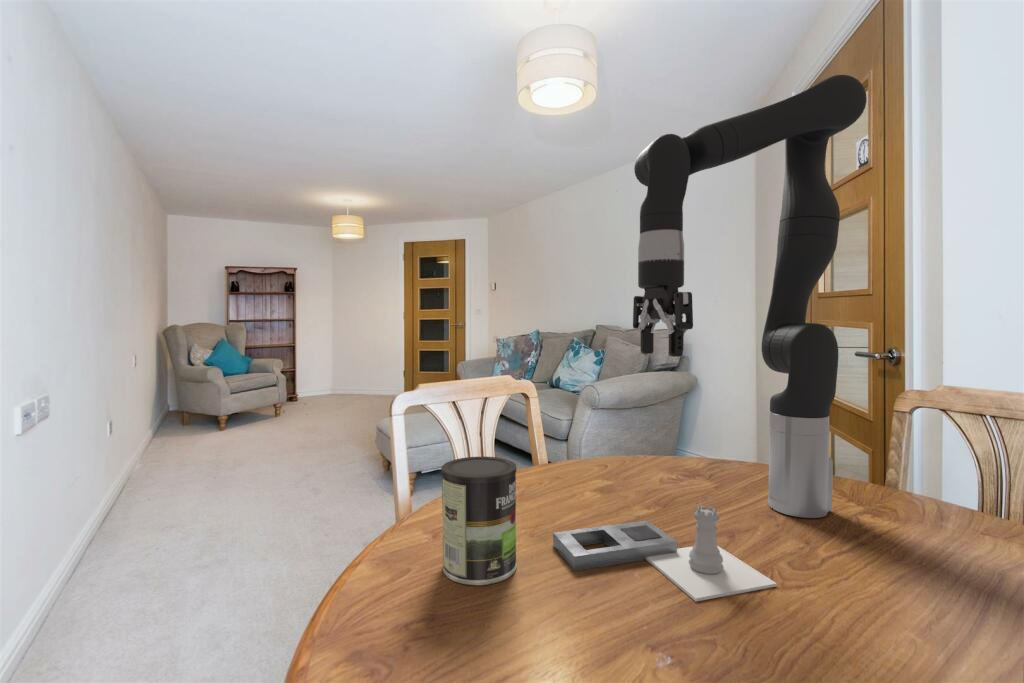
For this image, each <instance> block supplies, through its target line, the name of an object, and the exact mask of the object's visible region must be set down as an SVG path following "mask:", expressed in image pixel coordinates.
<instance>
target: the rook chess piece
mask: <svg viewBox="0 0 1024 683" xmlns="http://www.w3.org/2000/svg"><path fill="white" fill-rule="evenodd" d="M693 517H694V518H695V520H696V524H695V526H694V527H695V528H696V535H695V536H696V537H695V542H694V545H693V549H692V550H691V551H690V554H689V557H690V558H691V559H689V564H690V566H691V567H692V568H693V569H694V570H695V571H697V572H699V573H702V574H708V575H715V574H719V573H720V572H721V571H722V570H723V569H724V567H723V565H722V562H723V557H722V555H721V554H720V551H719V549H718V547H717V546H718V543H717V535H716V533H717V531H718V527H717V526H716V525H717V523H718V521H720V516H719V515H718V513H717V508H713V507H712V506H708V508H707V509H706V505H701V506H697V507H696V511H695V512H694V513H693Z"/></svg>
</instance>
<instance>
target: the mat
mask: <svg viewBox="0 0 1024 683" xmlns="http://www.w3.org/2000/svg"><path fill="white" fill-rule="evenodd" d="M693 546H694V545H693ZM693 546H686V547H681V548H680V547H679V548H678V547H677V552H676V553H670V554H663V555H657V556H650V557H646V560H645V561H647V562H648V563H649V564H651V566H653V567H654V568H655V569H656V570H658V571H659V572H660V573H661V574H662V575H664V576H665V577H666V578H667V579H668V580H669V581H670V582H671V583H673V584H674V585H675V586H677V588H679V589H680V590H681V591H683V593H684V594H686V595H687V596H688V597H689V598H691V599H692V600H693V601H694V602H696V603H697V602H701V601H706V600H711V599H716V598H721V597H722V598H723V597H728V596H733V595H739V594H744V593H748V592H755V591H759V590H765V589H771V588H775V587H777V585H778V584H777V583H776V582H775V581H774V580H772V579H771V578H769V577H767V576H766V575H764V574H763V573H761V572H760V571H758V570H757V569H755V568H753V567H751V566H750V565H748V564H747V563H746V562H744V561H743V560H740V559H739V558H737V557H736V556H734V555H733V554H731V553H730V552H728V551H726V550H725V549H724V548H721V547H720V546H719V545H717V547H718V549H719V551H720V554H721V555H722V557H723V562H722V565H723V567H724V569H723V570H722V571H721V572H720V573H719V574H715V575H708V574H702V573H699V572H697V571H695V570H694V569H693V568H692V567H691V566H690V564H689V559H691V558H690V557H689V554H690V551H691V550H692V549H693Z"/></svg>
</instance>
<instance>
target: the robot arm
mask: <svg viewBox="0 0 1024 683" xmlns="http://www.w3.org/2000/svg"><path fill="white" fill-rule="evenodd" d="M866 105H867V93H866V89H865V87H864V85H863V84H862V83H861V81H860V80H859V79H858V78H856V77H854V76H852V75H848V74H835V75H831V76H829V77H827V78H824V79H822V80H821V81H819V82H817V83H816V84H814V85H813V86H811V87H809V88H807V89H805V90H803V91H801V92H799V93H797V94H794V95H792V96H790V97H787V98H785V99H783V100H779V101H777V102H775V103H772V104H769V105H767V106H766V105H765V106H764V107H761V108H757V109H755V110H751V111H748V112H746V113H742V114H738V115H736V116H733V117H728V118H726V119H723V120H719V121H717V122H713V123H710V124H706V125H703V126H702V127H699V128H696V129H695V130H693V131H692V132H690V133H689V134H687V135H685V136H683V137H681V136H680V135H678V134H675V133H665V134H663V135H660V136H658V137H657V138H656V139H655V140H653V141H651V143H650V144H649V145H647V147H645V148H644V149H643V150H641V152H640V153H639V155H637V158H636V160H635V163H634V168H633V169H634V175H635V178H636V180H637V181H638V182H639V183H640V184H641V185H643V186H645V187H647V192H646V196H645V198H644V200H643V201H642V203H641V206H640V209H639V241H638V246H637V248H638V249H637V250H638V251H637V263H638V265H637V267H638V268H637V276H638V277H637V278H638V279H637V280H638V282H637V284H638V287H639V288H640V289H643V290H644V294H643V295H635V296H633V307H632V308H633V310H632V311H633V312H632V327H633V329H634V330H638V332H639V333H640V353H641V354H644V355H645V354H646V355H648V354H650V355H651V354H653V353H654V342H655V341H654V328H655V327H656V325H657V324H658V323H660V321H661V322H662V323H663V324H664V325H666V328H667V330H668V331H669V332H668V356H670V357H674V358H675V357H682V356H683V352H684V334H685V333H686V332H687V331H688V330H692V329H693V328H694V318H693V315H694V311H693V293H692V292H691V291H679V288H683V286H685V241H684V233H683V232H684V231H683V230H684V211H683V210H684V209H683V207H684V206H683V205H684V201H685V197H686V194H687V193H686V192H687V188H688V183H689V179H690V178H689V177H690V176H691V175H694V174H696V173H699V172H701V171H705V170H708V169H713V168H717V167H720V166H722V165H726V164H728V163H731V162H734V161H738V160H740V159H743V158H745V157H748V156H750V155H753V154H754V153H757V152H759V151H761V150H764V149H766V148H768V147H771V146H772V145H774V144H778V143H779V142H782V141H784V152H785V153H784V155H785V156H784V157H785V158H784V159H785V160H784V161H785V163H784V181H783V190H782V202H781V209H780V217H779V225H778V234H777V235H778V236H777V245H776V246H777V247H776V260H775V267H774V275H773V281H772V282H773V283H772V290H771V295H770V301H769V305H768V310H767V315H766V319H765V324H764V327H763V333H762V339H761V356H762V360H763V361H764V363H765V365H766V366H767V367H768V369H770V370H772V371H774V372H776V373H781V374H788V375H787V385H786V388H785V389H784V390H783V391H781V392H779V393H776V394H773V395H771V397H770V400H769V436H768V437H769V440H768V441H769V443H768V444H769V445H768V450H769V452H768V503H769V504H768V503H767V504H768V506H769V508H771V509H772V508H773V509H772V510H774V511H776V512H778V513H781V514H784V515H787V516H792V517H796V518H797V517H798V518H805V519H819V518H824V517H826V516H827V515H828V513H829V511H832V512H833V487H834V486H833V483H834V482H833V479H834V478H833V477H834V473H833V472H834V460H833V458H832V457H831V456H830V414H831V406H832V404H833V402H834V400H835V398H836V393H837V380H838V368H839V344H838V341H837V337H836V335H835V333H834V332H833V331H832V330H831V329H830V328H829V327H828V326H827V325H824V324H821V323H817V322H816V323H815V322H806V320H807V318H806V317H807V312H808V311H807V310H808V305H809V301H810V298H811V295H812V293H813V291H814V289H815V286H816V285H817V284H818V281H819V280H820V279H821V278H822V276H823V274H824V273H825V271H826V269H827V267H828V266H829V264H830V263H831V261H832V259H833V257H834V254H835V252H836V250H837V246H838V245H837V244H838V239H839V238H838V237H839V229H840V221H841V220H840V219H841V218H840V216H841V215H840V214H841V213H840V206H839V203H838V200H837V198H836V195H835V193H834V192H833V189H832V187H831V186H830V183H829V181H828V179H827V175H826V169H825V168H826V167H825V166H826V165H825V164H826V157H827V156H826V154H827V149H828V148H827V147H828V142H829V140H830V138H831V137H833V136H834V135H836V134H838V133H841V132H842V131H844V130H847V128H849V127H851V126H852V125H853V124H855V122H857V121H858V120H859V119H860V118H861V116H862V115H863V113H864V111H865V110H866ZM684 315H685V321H684V320H683V319H684ZM639 320H640V321H639Z"/></svg>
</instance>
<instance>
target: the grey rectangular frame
mask: <svg viewBox="0 0 1024 683" xmlns="http://www.w3.org/2000/svg"><path fill="white" fill-rule="evenodd" d="M552 535H553V536H552V539H553V540H552V541H553V542H552V546H553V547H554V549H555V550H556V551H557V552H558V553H559V555H561V557H562V558H563V559H564V560H565V562H566V563H567V564H568V565H569V567H570V568H571V569H572V570H573V571H574V572H576V571H577V572H578V571H582V570H583V571H584V570H590V569H596V568H597V569H598V568H603V567H609V566H614V565H615V566H616V565H621V564H629V563H634V562H641V561H647V560H646V557H650V556H657V555H663V554H670V553H676V552H677V549H678V541H677V540H676V539H674V538H673V537H672V536H670V535H669V534H668V533H666V532H665V531H663V530H661V528H659V527H657V526H656V525H655V524H653V523H652V522H650V521H648V519H646V520H639V521H638V520H637V521H631V522H625V523H617V524H615V523H614V524H609V525H601V526H593V527H585V528H579V529H570V530H563V531H556V532H553V533H552ZM596 544H605V545H606V546H607V547H599V548H592V549H585V548H584V547H583V546H589V545H596Z"/></svg>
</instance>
